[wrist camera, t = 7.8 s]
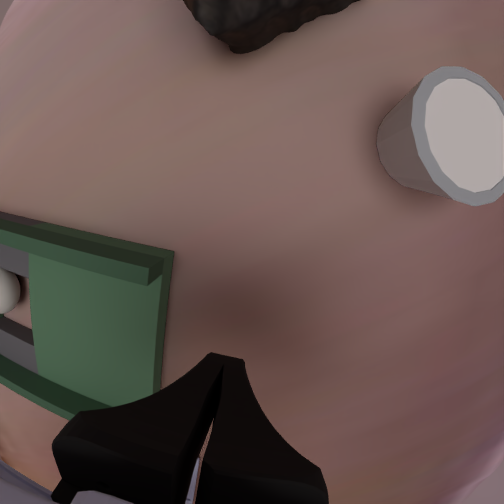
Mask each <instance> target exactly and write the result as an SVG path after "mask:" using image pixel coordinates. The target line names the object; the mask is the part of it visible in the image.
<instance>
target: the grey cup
mask: <svg viewBox="0 0 504 504" xmlns="http://www.w3.org/2000/svg"><path fill="white" fill-rule="evenodd" d="M376 145H377V149H378V154H379V158H380V162H381V163H382V165H383V166H384V168H385V169H386V171H387V173H388V174H389V176H390V177H392V178H393V179H394V180H396V181H397V182H398V183H399V184H401V185H402V186H405V187H409V188H413V189H416V190H420V191H424V192H427V193H431V194H435V195H438V196H442V197H445V198H449V199H452V200H455V201H459V202H462V203H465V204H469V205H472V206H479V205H483V204H488V203H492V202H495V201H496V200H497V199H498V198H499V197H500V196H501V195H502V194H503V193H504V101H503V99H502V97H501V95H500V94H499V93H498V92H497V91H496V90H495V89H494V88H493V87H492V86H491V85H490V84H489V83H488V82H487V81H486V80H485V79H484V78H483V77H482V76H480V75H478V74H476V73H474V72H472V71H470V70H468V69H466V68H464V67H445V66H442V67H440V68H438V69H437V70H435V71H433V72H431V73H430V74H428V75H426V76H425V77H424V78H423V79H422V80H421V81H420V82H419V83H418V84H417V85H416V86H415V87H414V88H413V89H412V90H411V91H410V92H409V93H408V94H407V95H406V96H405V97H404V98H403V99H402V100H401V101H400V102H399V103H398V104H397V105H396V106H395V107H394V108H393V109H392V110H391V111H390V112H389V113H388V114H387V115H386V116H385V118H384V120H383V121H382V123H381V125H380V126H379V128H378V135H377V143H376Z"/></svg>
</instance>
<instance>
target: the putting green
mask: <svg viewBox="0 0 504 504" xmlns="http://www.w3.org/2000/svg"><path fill="white" fill-rule="evenodd" d="M173 257H174V251H170V250H166V249H161V248H157V247H152V246H147V245H143V244H138V243H134V242H129V241H125V240H120V239H116V238H111V237H107V236H102V235H98V234H94V233H89V232H85V231H80V230H76V229H72V228H67V227H63V226H59V225H54V224H50V223H46V222H41V221H37V220H33V219H29V218H25V217H20V216H16V215H12V214H8V213H4V212H0V267H1V268H3V269H6V270H8V271H11V272H13V273H16V274H19V275H21V276H24V277H27V278H29V292H30V309H31V321H32V330H31V329H29V328H26V327H24V326H22V325H20V324H18V323H16V322H14V321H12V320H10V319H8V318H6V317H4V314H0V383H1V384H3V385H5V386H6V387H8V388H9V389H11V390H13V391H14V392H16V393H18V394H20V395H21V396H23V397H25V398H27V399H28V400H30V401H32V402H34V403H36V404H37V405H39V406H41V407H43V408H45V409H47V410H49V411H51V412H53V413H55V414H57V415H59V416H61V417H63V418H65V419H67V420H71V419H72V418H73V417H74V416H75V415H76V414H77V413H78V412H79V411H87V410H96V409H104V408H110V407H115V406H119V405H123V404H127V403H131V402H134V401H137V400H139V399H142V398H145V397H147V396H150V395H152V394H154V393H156V392H158V391H160V384H161V370H162V357H163V345H164V334H165V324H166V314H167V305H168V296H169V288H170V279H171V272H172V264H173Z"/></svg>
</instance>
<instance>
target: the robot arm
mask: <svg viewBox="0 0 504 504" xmlns="http://www.w3.org/2000/svg"><path fill="white" fill-rule="evenodd" d="M213 418H214V419H213ZM212 420H213V427H212V432H211V435H210V439H209V442H208V445H207V448H206V451H205V454H204V457H203V461H202V467H201V472H200V478H199V484H198V490H197V496H196V501H195V504H329V498H328V491H327V487H326V484H325V481H324V478H323V475H322V472H321V469H320V468H319V467H317V466H316V465H314V464H313V463H312V462H310V461H309V460H307V459H306V458H305V457H303V456H302V455H301V454H299V453H298V452H297V451H296V450H295V449H294V448H293V447H291V446H290V445H289V444H288V443H287V442H286V441H285V440H284V439H283V438H282V436H281V435H280V434H279V433H278V432H277V431H276V430H275V428H274V427H273V426H272V424H271V423H270V422H269V420H268V419H267V417H266V416H265V414H264V412H263V411H262V409H261V407H260V405H259V403H258V401H257V399H256V397H255V395H254V393H253V390H252V388H251V385H250V383H249V380H248V377H247V373H246V369H245V362H244V361H243V359H239V358H234V357H230V356H225V355H220V354H216V353H212V352H210V353H209V354H207V355H206V356H205V357H204V358H203V359H202V360H201V361H200V362H199V363H198V364H197V365H196V366H195V367H194V368H192V369H191V370H190V371H189V372H187V373H186V374H185V375H184V376H182V377H181V378H179V379H178V380H176V381H175V382H173V383H172V384H170V385H169V386H167V387H165V388H164V389H162V390H160V391H158V392H156V393H154V394H152V395H150V396H147V397H145V398H142V399H139V400H137V401H134V402H131V403H127V404H123V405H119V406H115V407H110V408H104V409H96V410H87V411H79V412H78V413H77V414H76V415H75V416H74V417H73V418H72V419H71V420H70V421H69V422H68V423H67V424H66V425H65V426H64V428H63V429H62V430H61V431H60V433H59V434H58V435H57V436H56V438H55V439H54V440H53V443H52V451H53V455H54V458H55V461H56V464H57V467H58V469H59V472H60V475H61V477H62V479H61V481H60V482H59V484H58V485H57V487H56V488H55V490H54V491H53V492H52V491H50V490H48V489H46V488H44V487H43V486H41V485H39V484H37V483H36V482H34V481H32V480H31V479H29V478H27V477H26V476H24V475H23V474H21V473H19V472H18V471H16V470H15V469H13V468H12V467H10V466H9V465H7V464H6V463H4V462H3V461H2V460H0V504H192V503H193V498H194V491H195V485H196V479H197V473H198V467H199V460H200V459H199V457H198V456H199V454H200V451H201V449H202V446H203V444H204V441H205V439H206V436H207V433H208V431H209V428H210V426H211V423H212Z"/></svg>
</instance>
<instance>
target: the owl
mask: <svg viewBox="0 0 504 504" xmlns="http://www.w3.org/2000/svg"><path fill="white" fill-rule="evenodd" d="M183 1H184V2H185V4H186V6H187V8H188V9H189V10H190V11H191V12H192V14H193V16H194V18H195V20H197V21H198V22H199V23H200V24H201V25H202V26H203V27H204V28H205V30H206V31H208V33H209V34H210V35H212V36H215V37H216V38H218V39H219V40H221V41H223V42H225V43H227V44H228V45H229V47H230V50H231V51H232V52H234V53H239V54H243V53H248V52H251V51H254V50H257V49H259V48H261V47H262V46H264V45H266V44H267V43H269V42H270V41H272V40H273V39H274V38H275V37H276V36H277V35H279V34H281V33H283V32H294V31H296V30H297V29H298V28H299V27H300V26H301V25H302V24H304V23H306V22H309V21H312V20H314V19H315V18H317V17H318V16H320V15H325V14H335V13H337V12H340V11H342V10H344V9H345V8H347V7H348V6H349V5H350V4H351V3H352V2H356V1H359V0H183Z"/></svg>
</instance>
